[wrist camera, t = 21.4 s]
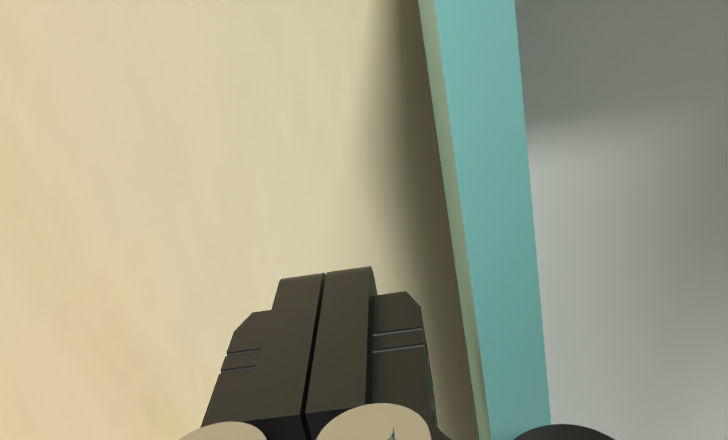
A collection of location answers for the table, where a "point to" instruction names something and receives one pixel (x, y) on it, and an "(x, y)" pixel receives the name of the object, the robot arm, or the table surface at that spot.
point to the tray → (587, 209)
